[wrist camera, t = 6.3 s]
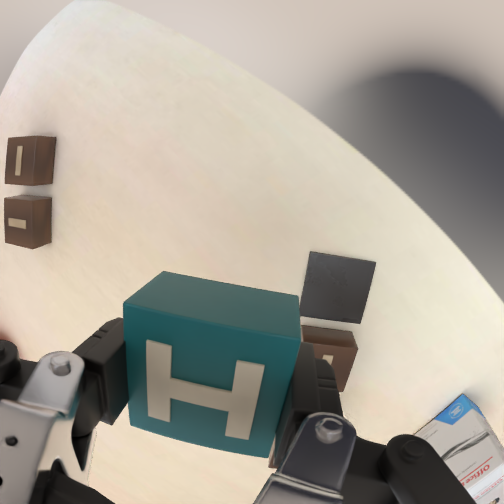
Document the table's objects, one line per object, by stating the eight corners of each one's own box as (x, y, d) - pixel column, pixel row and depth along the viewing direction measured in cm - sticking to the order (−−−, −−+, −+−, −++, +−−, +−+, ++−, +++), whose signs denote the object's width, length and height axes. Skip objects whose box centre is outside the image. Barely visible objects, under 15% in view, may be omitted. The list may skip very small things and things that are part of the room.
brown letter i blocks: (27, 138, 26) (7, 137, 23) (56, 137, 25) (36, 135, 22) (23, 236, 28) (4, 242, 25) (51, 242, 28) (32, 249, 25)
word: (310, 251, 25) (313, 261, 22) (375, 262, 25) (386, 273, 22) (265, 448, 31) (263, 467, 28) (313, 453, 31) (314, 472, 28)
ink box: (463, 391, 27) (518, 482, 13) (478, 406, 28) (528, 489, 13) (406, 438, 29) (439, 536, 15) (426, 450, 30) (457, 538, 16)
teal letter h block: (163, 270, 11) (120, 303, 8) (298, 295, 10) (302, 340, 7) (159, 378, 12) (128, 427, 9) (273, 402, 11) (268, 461, 8)
